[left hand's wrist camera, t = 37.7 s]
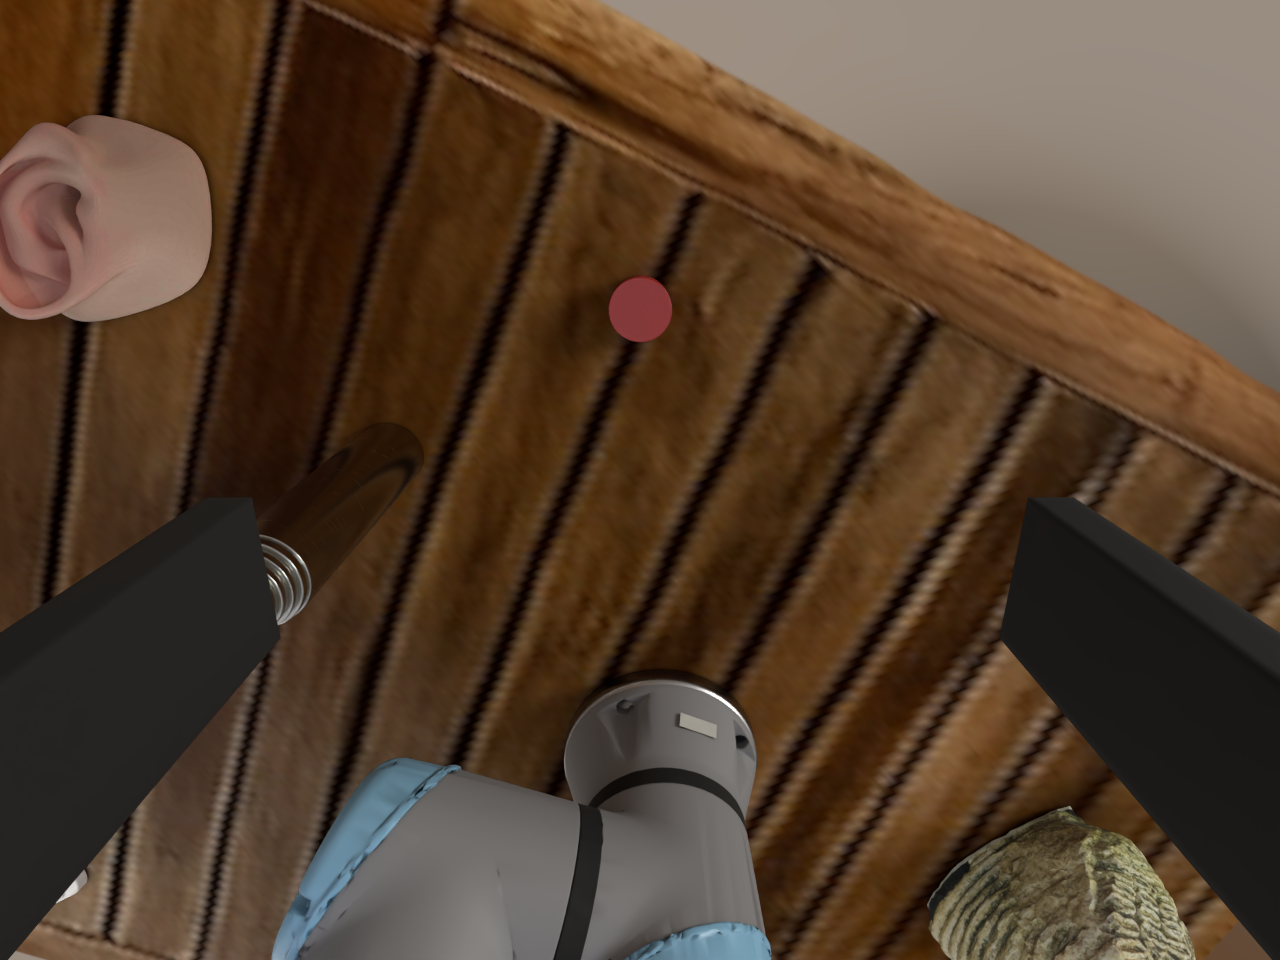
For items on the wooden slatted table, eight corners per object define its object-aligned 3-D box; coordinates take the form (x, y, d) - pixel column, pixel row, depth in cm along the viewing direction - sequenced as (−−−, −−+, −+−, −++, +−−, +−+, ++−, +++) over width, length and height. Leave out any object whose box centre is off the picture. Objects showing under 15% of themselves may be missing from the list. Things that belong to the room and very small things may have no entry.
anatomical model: (141, 92, 38) (211, 310, 42) (185, 102, 42) (246, 302, 46) (-96, 124, 39) (-5, 337, 43) (-32, 132, 42) (47, 327, 46)
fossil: (1125, 811, 60) (1272, 992, 46) (984, 945, 66) (1078, 1143, 52) (1044, 769, 59) (1171, 943, 45) (907, 910, 65) (982, 1105, 50)
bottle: (357, 480, 50) (147, 678, 29) (357, 418, 49) (135, 579, 27) (422, 488, 50) (261, 692, 29) (424, 427, 49) (256, 594, 27)
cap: (632, 349, 47) (631, 354, 45) (597, 298, 46) (596, 301, 44) (682, 315, 46) (683, 319, 45) (648, 262, 45) (649, 264, 43)
